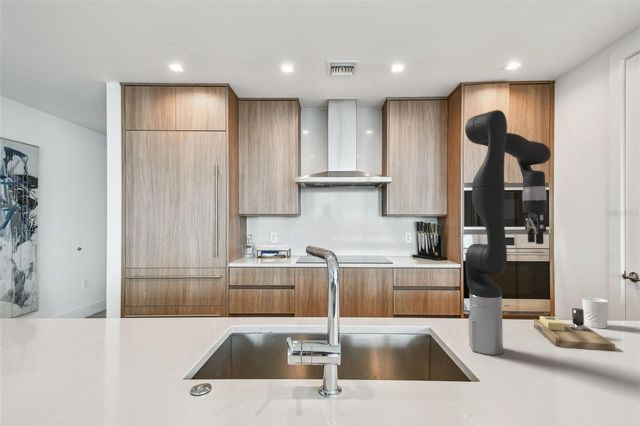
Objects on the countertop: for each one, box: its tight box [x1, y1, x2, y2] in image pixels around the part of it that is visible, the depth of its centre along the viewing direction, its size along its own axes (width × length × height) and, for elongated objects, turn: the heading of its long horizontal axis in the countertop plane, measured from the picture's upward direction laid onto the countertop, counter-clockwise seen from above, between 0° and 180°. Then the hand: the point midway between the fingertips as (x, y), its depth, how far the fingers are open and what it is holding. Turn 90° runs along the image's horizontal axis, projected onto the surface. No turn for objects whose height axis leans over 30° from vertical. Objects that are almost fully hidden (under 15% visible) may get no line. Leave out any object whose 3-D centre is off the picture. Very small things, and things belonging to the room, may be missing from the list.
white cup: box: [581, 296, 609, 329], centre depth 128 cm, size 8×8×10 cm
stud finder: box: [539, 315, 566, 331], centre depth 121 cm, size 5×8×3 cm, turn 165°
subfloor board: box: [533, 318, 616, 352], centre depth 116 cm, size 16×20×3 cm
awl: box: [571, 307, 585, 331], centre depth 119 cm, size 3×3×9 cm
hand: (535, 243), depth 125 cm, fingers open, 8 cm apart
